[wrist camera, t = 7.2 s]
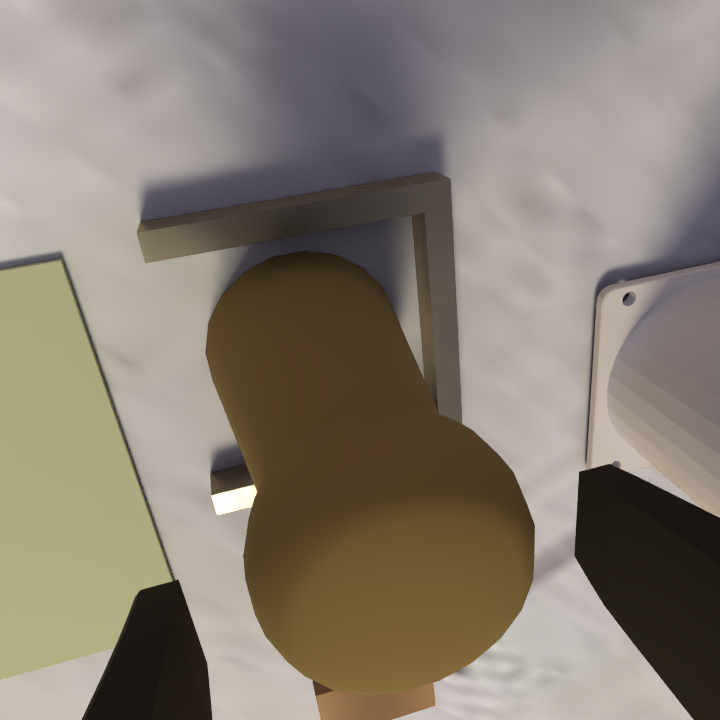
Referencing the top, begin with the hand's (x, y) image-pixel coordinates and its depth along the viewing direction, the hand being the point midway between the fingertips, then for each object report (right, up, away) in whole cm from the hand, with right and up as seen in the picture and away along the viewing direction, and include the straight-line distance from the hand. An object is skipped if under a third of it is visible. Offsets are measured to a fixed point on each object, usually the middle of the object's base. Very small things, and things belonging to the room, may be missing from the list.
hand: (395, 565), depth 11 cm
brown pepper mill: (-2, +4, +9) cm, 10 cm away
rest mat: (-12, -1, +8) cm, 14 cm away
